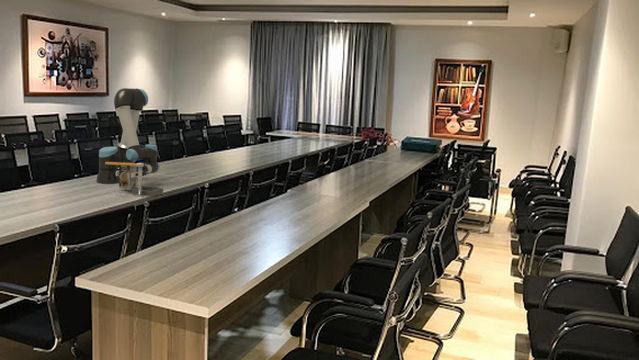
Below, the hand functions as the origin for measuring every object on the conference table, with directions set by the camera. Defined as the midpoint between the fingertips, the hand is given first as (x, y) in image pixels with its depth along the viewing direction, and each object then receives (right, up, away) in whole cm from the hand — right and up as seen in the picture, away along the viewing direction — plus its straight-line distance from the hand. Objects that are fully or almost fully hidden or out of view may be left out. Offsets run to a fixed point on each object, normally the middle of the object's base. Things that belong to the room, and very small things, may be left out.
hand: (124, 174), depth 339 cm
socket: (+13, -12, +5) cm, 18 cm away
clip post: (+11, -13, -3) cm, 17 cm away
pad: (0, -11, +6) cm, 12 cm away
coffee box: (0, -9, +6) cm, 11 cm away
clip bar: (+3, +5, -7) cm, 9 cm away
